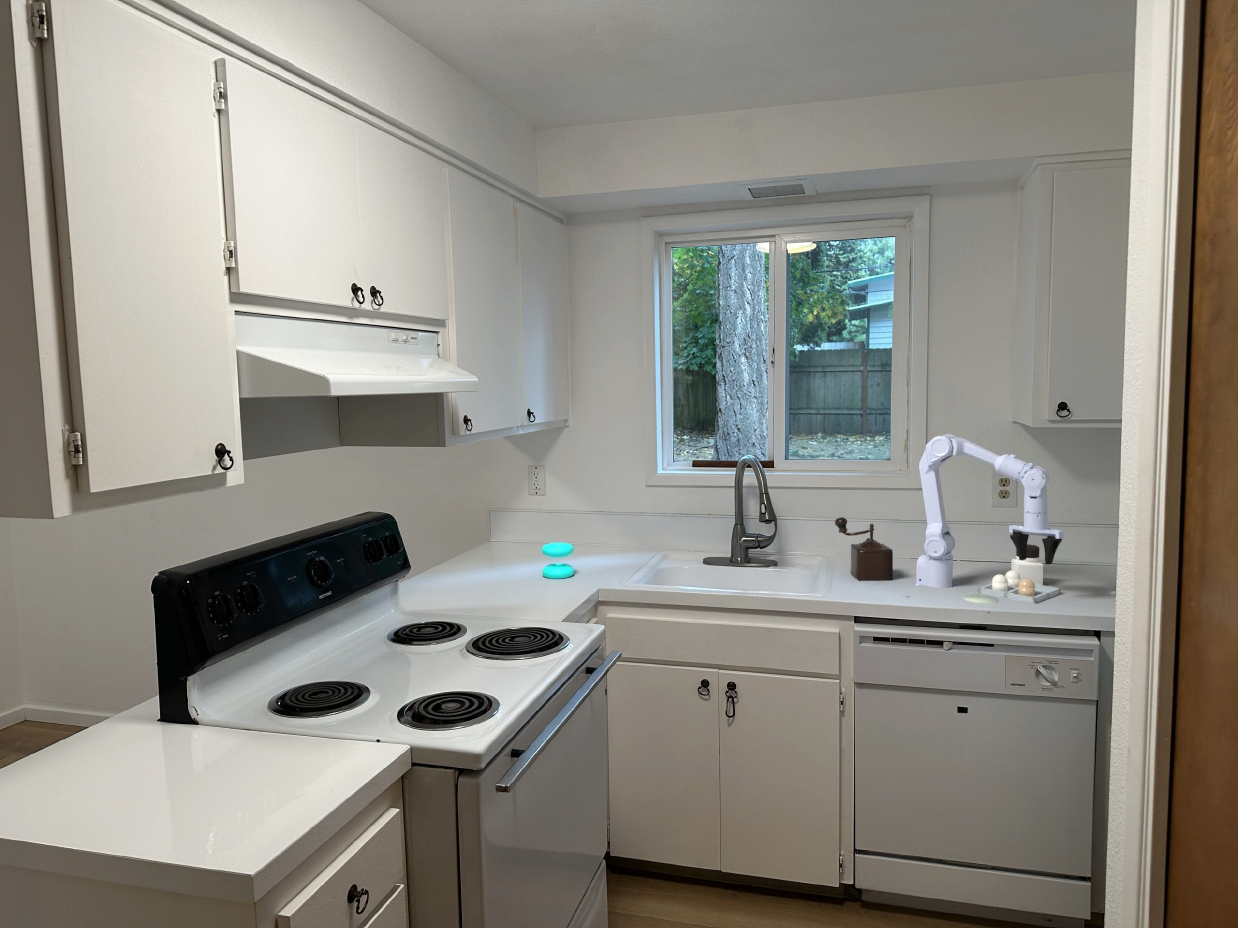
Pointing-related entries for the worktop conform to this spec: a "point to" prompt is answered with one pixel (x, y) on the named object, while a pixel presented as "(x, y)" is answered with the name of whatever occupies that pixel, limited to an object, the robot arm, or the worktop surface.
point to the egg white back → (1013, 578)
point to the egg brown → (1026, 588)
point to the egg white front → (1000, 583)
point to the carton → (1040, 594)
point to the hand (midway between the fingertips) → (1035, 561)
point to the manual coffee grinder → (868, 556)
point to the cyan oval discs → (557, 568)
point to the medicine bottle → (1029, 565)
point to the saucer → (980, 599)
